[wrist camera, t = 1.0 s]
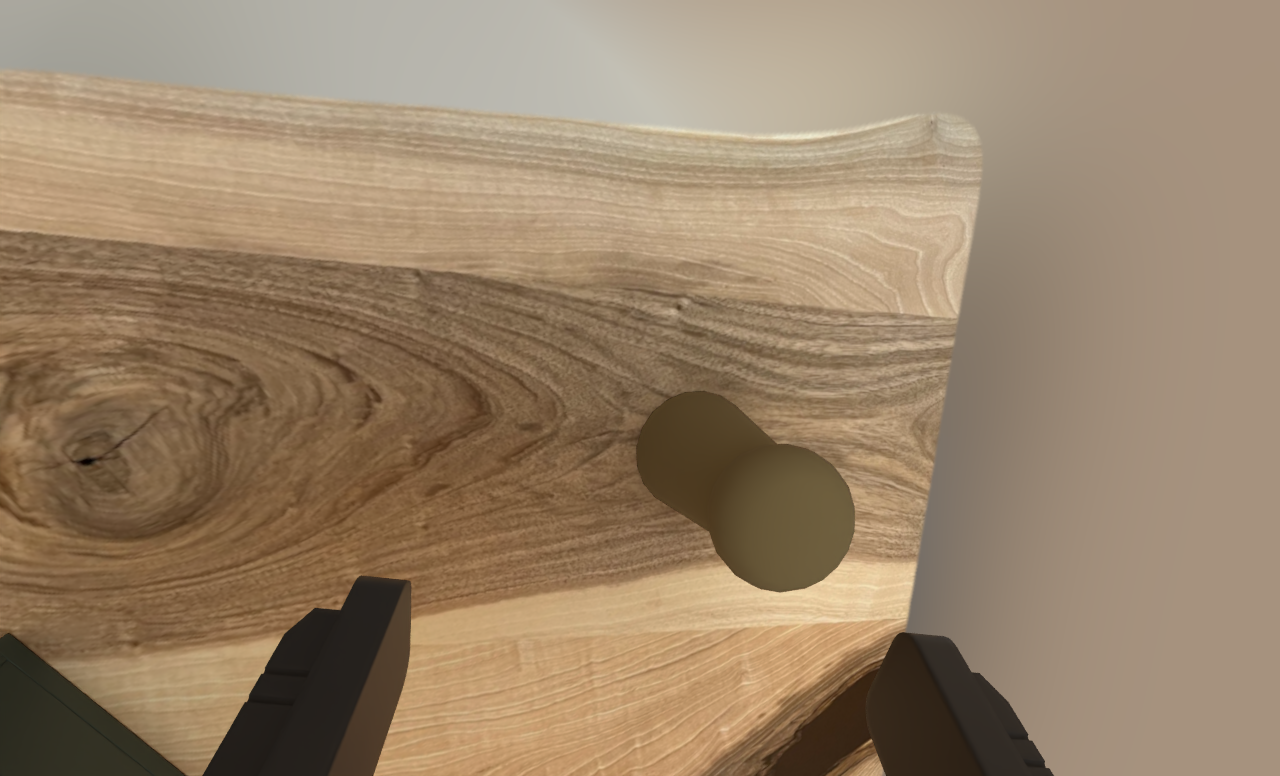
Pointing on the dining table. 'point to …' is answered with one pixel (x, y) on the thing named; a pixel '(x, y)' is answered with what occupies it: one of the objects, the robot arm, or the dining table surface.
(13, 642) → the green open box
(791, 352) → the dining table surface
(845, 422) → the dining table surface
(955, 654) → the robot arm
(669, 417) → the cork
